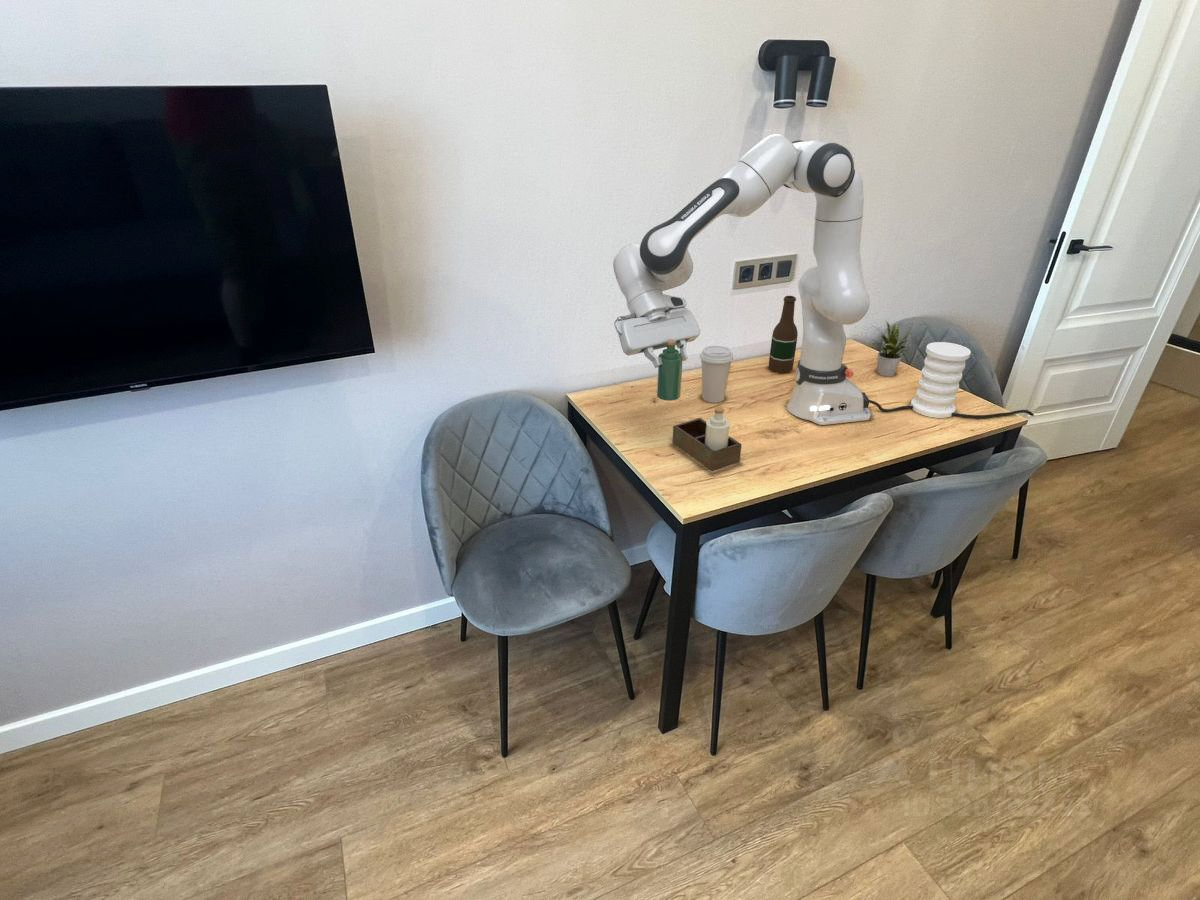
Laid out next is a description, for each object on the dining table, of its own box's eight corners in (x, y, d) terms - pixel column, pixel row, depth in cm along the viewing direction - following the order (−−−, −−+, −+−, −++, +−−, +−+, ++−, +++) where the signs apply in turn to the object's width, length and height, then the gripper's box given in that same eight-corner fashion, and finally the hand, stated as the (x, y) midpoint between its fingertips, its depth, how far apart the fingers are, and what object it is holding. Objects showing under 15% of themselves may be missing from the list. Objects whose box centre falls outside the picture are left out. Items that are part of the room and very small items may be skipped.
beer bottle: (793, 374, 205) (804, 301, 193) (768, 373, 206) (777, 299, 194) (791, 365, 211) (802, 293, 199) (767, 364, 213) (776, 292, 201)
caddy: (672, 445, 166) (673, 425, 164) (698, 437, 170) (700, 417, 167) (711, 474, 154) (713, 453, 151) (739, 464, 158) (741, 444, 155)
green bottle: (679, 390, 155) (682, 336, 148) (681, 400, 150) (684, 344, 143) (656, 390, 155) (658, 336, 148) (657, 400, 150) (659, 345, 143)
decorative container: (964, 413, 180) (982, 352, 171) (933, 421, 176) (950, 359, 167) (931, 397, 189) (946, 339, 180) (901, 404, 185) (915, 345, 176)
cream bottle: (724, 452, 161) (729, 403, 154) (728, 464, 156) (733, 413, 149) (702, 453, 161) (705, 403, 154) (705, 464, 156) (709, 414, 149)
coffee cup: (693, 401, 189) (696, 354, 181) (701, 389, 196) (704, 342, 189) (725, 406, 185) (730, 358, 178) (732, 393, 193) (737, 346, 186)
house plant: (851, 364, 211) (860, 316, 203) (891, 362, 213) (902, 314, 204) (872, 381, 199) (882, 331, 191) (914, 379, 200) (927, 329, 192)
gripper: (616, 311, 143) (639, 366, 141) (690, 297, 152) (713, 349, 149) (606, 324, 149) (628, 378, 146) (678, 310, 158) (700, 360, 155)
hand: (671, 363), depth 148 cm, fingers closed on green bottle, 5 cm apart
